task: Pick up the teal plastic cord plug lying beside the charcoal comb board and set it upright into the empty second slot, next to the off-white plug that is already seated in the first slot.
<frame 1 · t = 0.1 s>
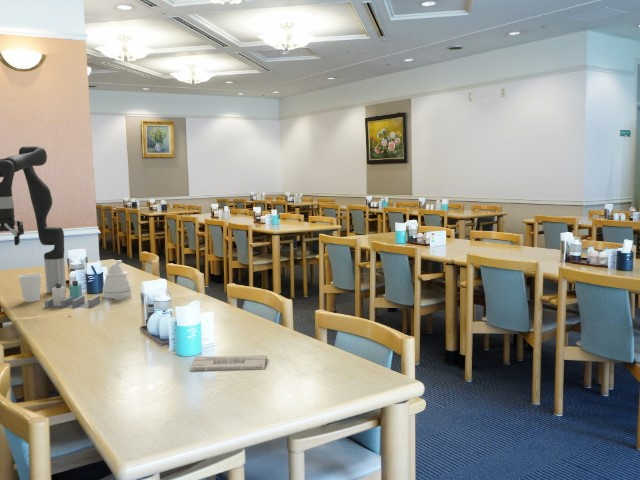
hand: (6, 245, 248), 29 cm above the table, fingers open, 8 cm apart
newspaper: (228, 366, 174), on the table
comb board: (73, 307, 258), on the table
foam cup: (32, 303, 270), on the table
white plug: (59, 305, 258), point 1 cm above the table, touching comb board
teal plug: (76, 302, 269), on the table
honey pot: (117, 297, 278), on the table
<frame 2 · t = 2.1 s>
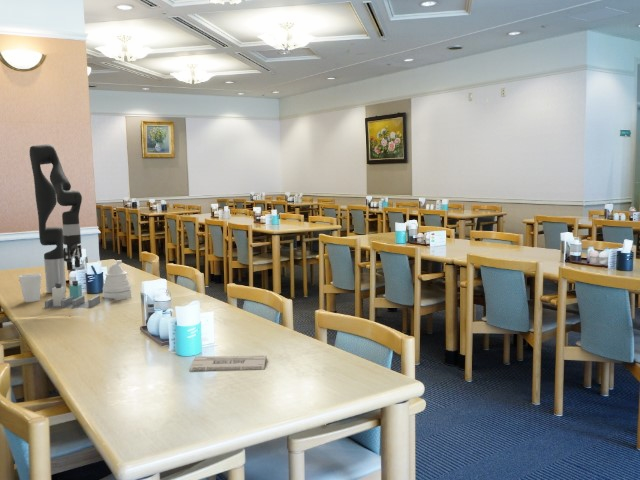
hand: (73, 268, 267), 16 cm above the table, fingers open, 8 cm apart
nothing on the table moved.
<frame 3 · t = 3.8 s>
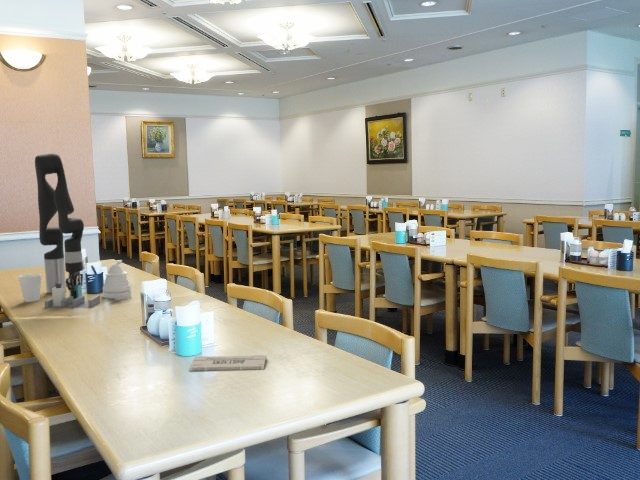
hand: (76, 297, 269), 2 cm above the table, fingers closed on teal plug, 4 cm apart
teal plug: (76, 302, 269), on the table, touching gripper
everything else where it was.
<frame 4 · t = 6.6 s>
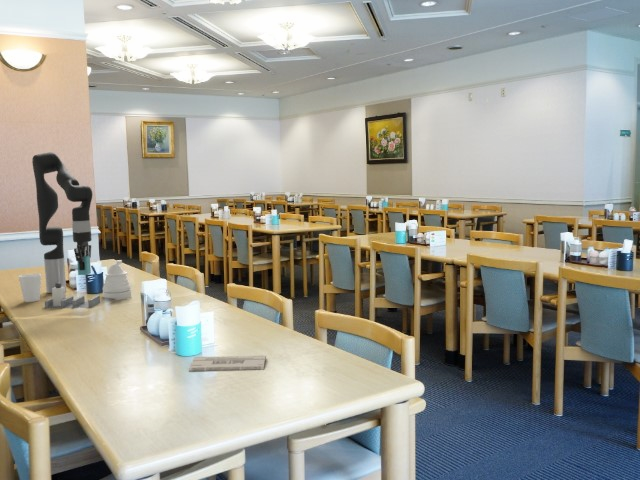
hand: (84, 269, 256), 17 cm above the table, fingers closed on teal plug, 4 cm apart
teal plug: (84, 274, 256), point 15 cm above the table, touching gripper
everything else where it was.
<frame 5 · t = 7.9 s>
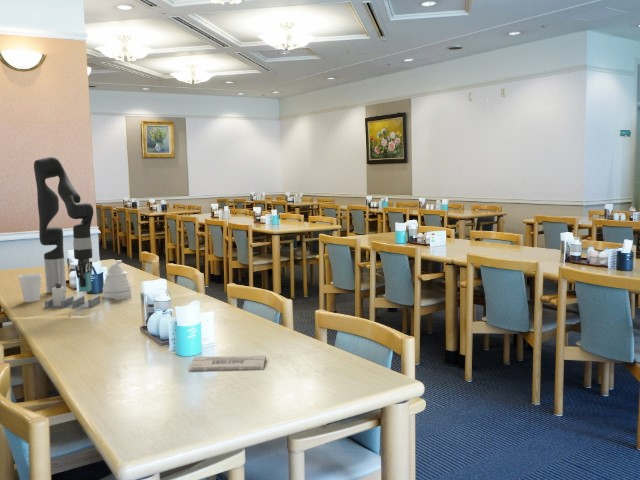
hand: (85, 285, 257), 10 cm above the table, fingers closed on teal plug, 4 cm apart
teal plug: (85, 290, 257), point 7 cm above the table, touching gripper
everything else where it was.
when the fingers open (4 cm above the table, at t = 9.3 s): teal plug stays where it is, resting on comb board.
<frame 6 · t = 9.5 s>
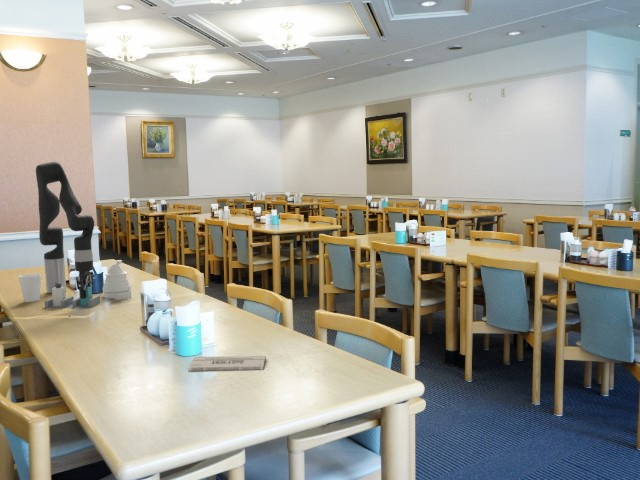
hand: (86, 296, 258), 5 cm above the table, fingers open, 6 cm apart
teal plug: (86, 304, 258), point 1 cm above the table, touching comb board
everything else where it was.
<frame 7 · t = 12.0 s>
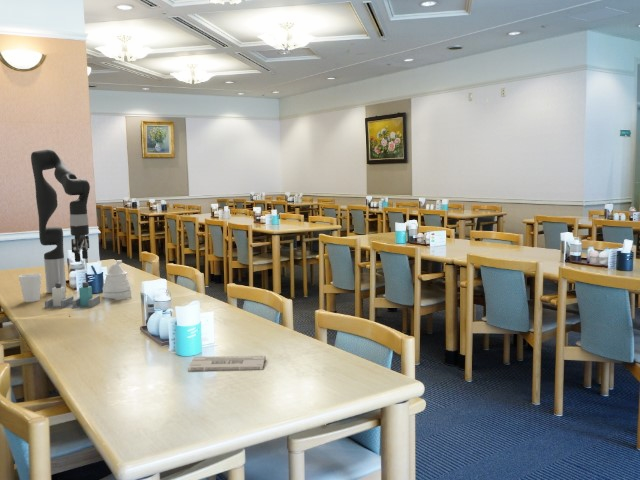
hand: (81, 260, 258), 21 cm above the table, fingers open, 8 cm apart
nothing on the table moved.
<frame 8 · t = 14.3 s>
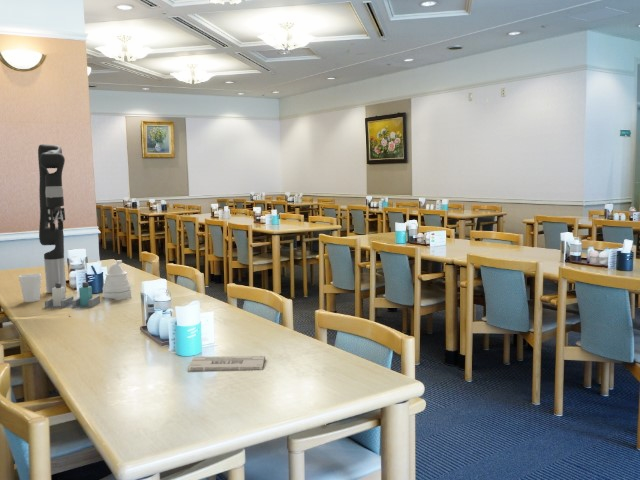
hand: (56, 230, 270), 33 cm above the table, fingers open, 8 cm apart
nothing on the table moved.
at the end: teal plug 0.0 cm from the target spot on the comb board, point 1.0 cm above the comb board's base; teal plug tilted 0°; white plug moved 0.0 cm from its start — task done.
